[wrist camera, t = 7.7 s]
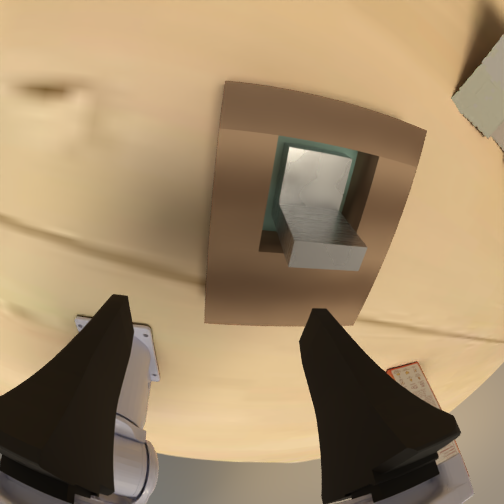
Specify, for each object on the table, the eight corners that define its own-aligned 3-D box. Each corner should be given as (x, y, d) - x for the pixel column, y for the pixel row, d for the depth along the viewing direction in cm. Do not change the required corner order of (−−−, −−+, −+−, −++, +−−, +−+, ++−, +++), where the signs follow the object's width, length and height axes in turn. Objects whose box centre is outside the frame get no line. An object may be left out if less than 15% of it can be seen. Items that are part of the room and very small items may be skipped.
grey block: (326, 220, 20) (358, 271, 14) (271, 214, 19) (288, 267, 14) (343, 153, 17) (388, 184, 12) (284, 142, 16) (311, 169, 11)
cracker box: (387, 404, 41) (418, 500, 23) (357, 411, 40) (386, 514, 23) (420, 359, 33) (472, 478, 16) (387, 367, 33) (436, 500, 15)
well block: (342, 301, 24) (352, 325, 22) (205, 296, 23) (204, 323, 20) (401, 122, 16) (426, 130, 13) (225, 82, 14) (225, 80, 12)
